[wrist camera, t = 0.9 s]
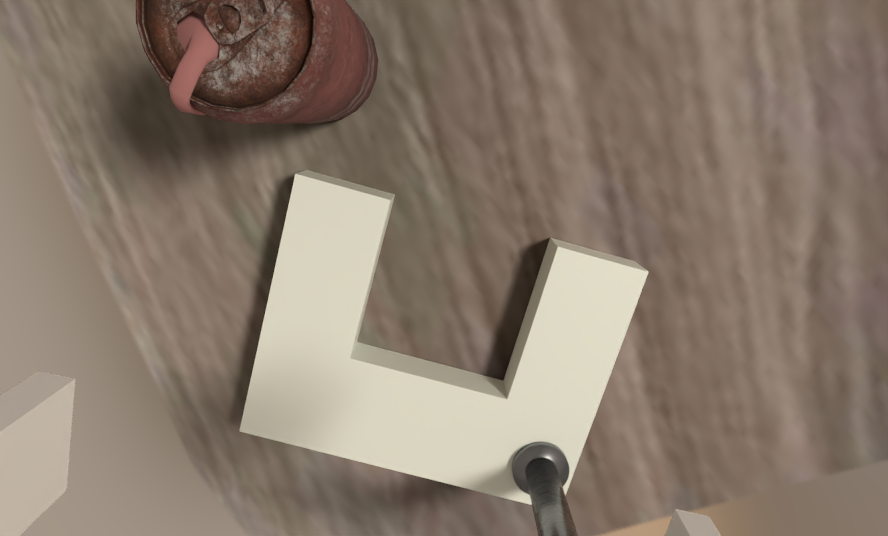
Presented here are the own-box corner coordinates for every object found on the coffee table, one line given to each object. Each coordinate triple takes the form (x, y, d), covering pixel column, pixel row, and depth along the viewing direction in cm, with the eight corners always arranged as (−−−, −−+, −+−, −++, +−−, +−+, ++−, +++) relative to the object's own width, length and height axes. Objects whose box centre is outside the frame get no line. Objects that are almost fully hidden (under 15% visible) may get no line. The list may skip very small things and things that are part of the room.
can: (244, 95, 32) (92, 75, 18) (290, -21, 30) (161, -137, 17) (348, 146, 32) (276, 164, 19) (397, 34, 31) (358, -34, 17)
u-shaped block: (306, 169, 33) (295, 173, 30) (634, 260, 34) (648, 271, 31) (253, 410, 36) (239, 431, 34) (552, 486, 37) (559, 511, 35)
